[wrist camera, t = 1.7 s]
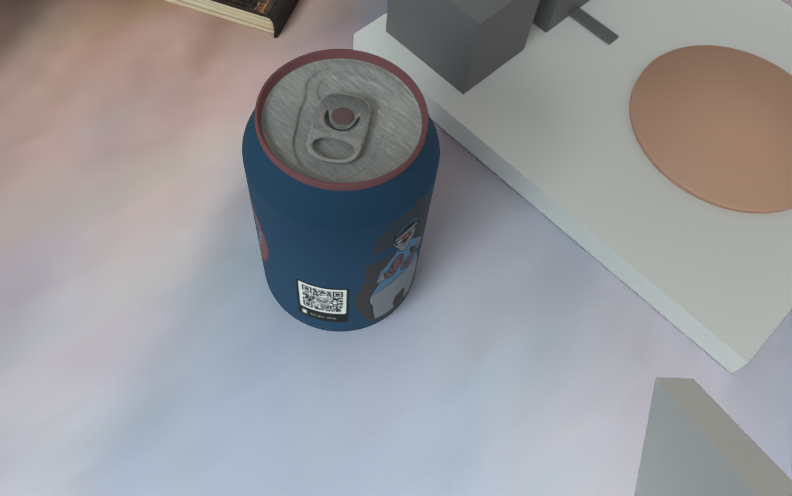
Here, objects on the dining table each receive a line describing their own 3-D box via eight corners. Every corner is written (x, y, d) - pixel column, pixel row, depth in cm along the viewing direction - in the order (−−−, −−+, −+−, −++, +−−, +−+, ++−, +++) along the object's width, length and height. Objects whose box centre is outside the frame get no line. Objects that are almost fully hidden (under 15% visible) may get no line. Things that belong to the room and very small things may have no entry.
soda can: (289, 199, 35) (269, 18, 25) (423, 227, 35) (461, 56, 25) (248, 324, 32) (205, 176, 21) (397, 356, 32) (427, 222, 21)
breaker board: (353, 53, 40) (356, -74, 33) (587, -100, 49) (631, -228, 41) (731, 373, 33) (845, 300, 25) (932, 126, 41) (1061, 18, 34)
